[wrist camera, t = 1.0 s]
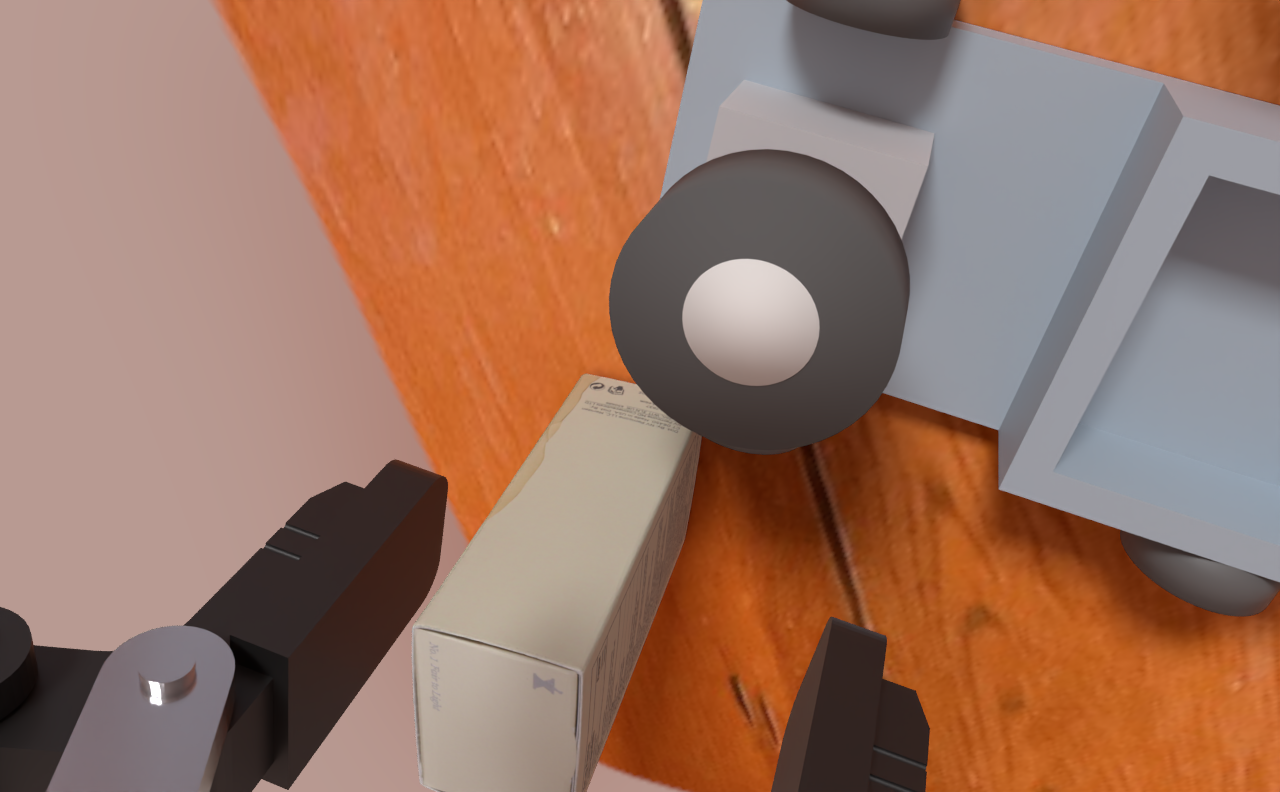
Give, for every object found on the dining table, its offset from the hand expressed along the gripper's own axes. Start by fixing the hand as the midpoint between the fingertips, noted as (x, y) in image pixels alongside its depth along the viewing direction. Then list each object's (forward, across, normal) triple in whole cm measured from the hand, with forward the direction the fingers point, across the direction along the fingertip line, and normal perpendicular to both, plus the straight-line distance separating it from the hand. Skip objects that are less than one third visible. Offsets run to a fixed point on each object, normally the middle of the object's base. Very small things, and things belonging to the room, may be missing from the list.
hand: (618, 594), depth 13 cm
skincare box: (+18, +3, +11) cm, 21 cm away
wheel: (+11, 0, 0) cm, 11 cm away
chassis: (+17, -6, 0) cm, 18 cm away
